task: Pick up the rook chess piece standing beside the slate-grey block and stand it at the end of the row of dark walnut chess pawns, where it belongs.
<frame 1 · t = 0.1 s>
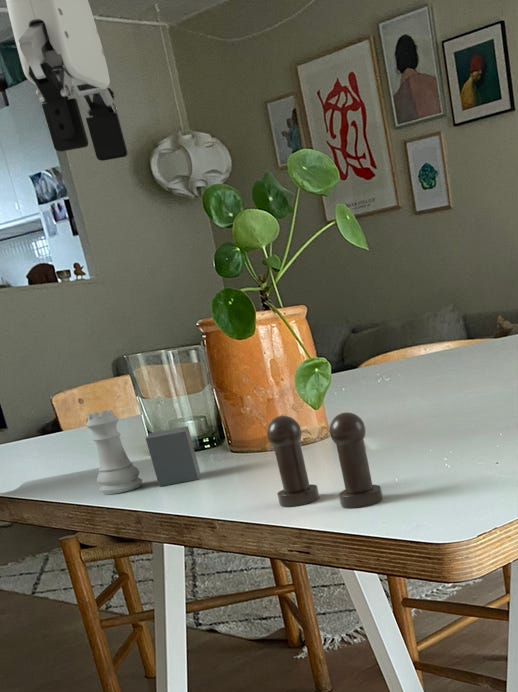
hand: (93, 153, 93), 32 cm above the table, tool pointing down, fingers open, 9 cm apart
grey block: (180, 479, 98), on the table
pawn a: (362, 502, 75), on the table
rook chess piece: (123, 491, 98), on the table
pawn b: (299, 501, 79), on the table
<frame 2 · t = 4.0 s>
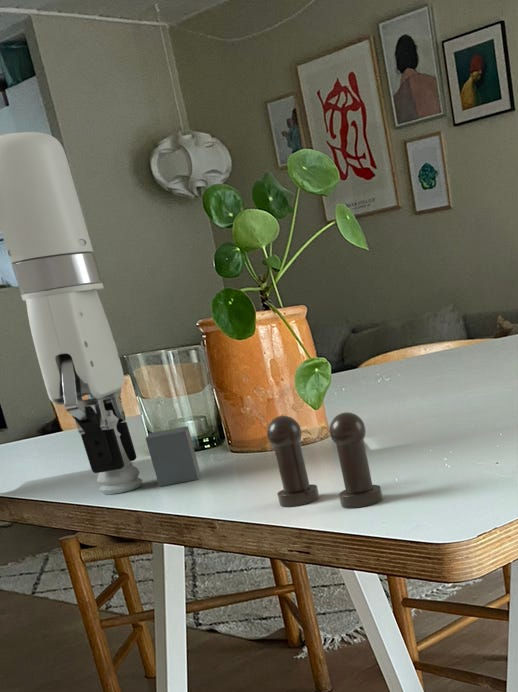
hand: (115, 464, 96), 3 cm above the table, tool pointing down, fingers closed on rook chess piece, 3 cm apart
rook chess piece: (123, 491, 98), on the table, touching gripper
everything else where it was.
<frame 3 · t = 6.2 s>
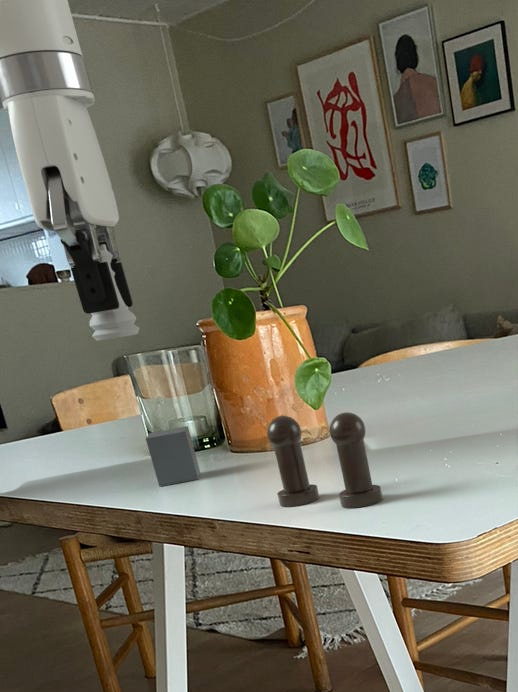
hand: (109, 308, 87), 18 cm above the table, tool pointing down, fingers closed on rook chess piece, 3 cm apart
rook chess piece: (118, 339, 88), point 15 cm above the table, touching gripper
everything else where it was.
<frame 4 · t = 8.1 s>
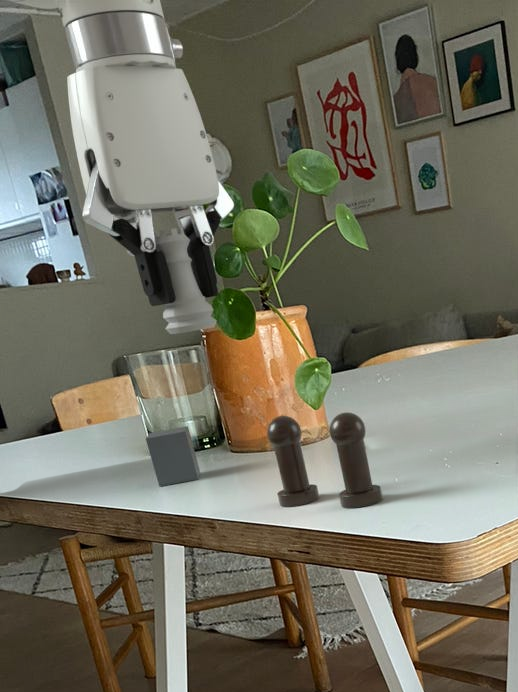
hand: (184, 298, 79), 17 cm above the table, tool pointing down, fingers closed on rook chess piece, 3 cm apart
rook chess piece: (193, 332, 80), point 14 cm above the table, touching gripper
everything else where it was.
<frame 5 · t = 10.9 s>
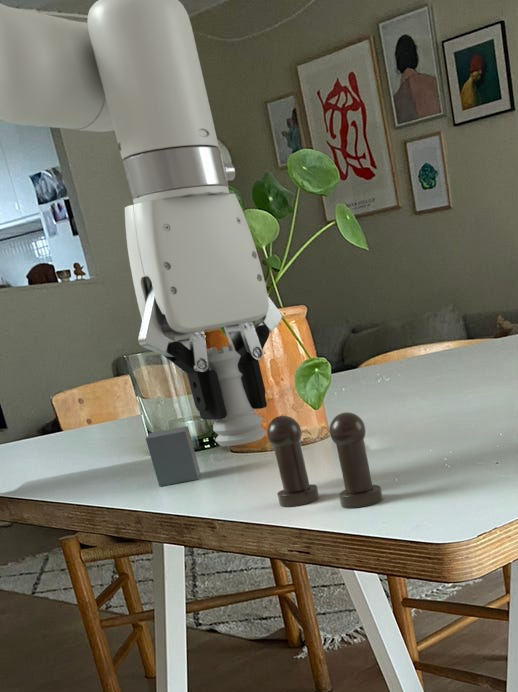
hand: (234, 411, 81), 8 cm above the table, tool pointing down, fingers closed on rook chess piece, 3 cm apart
rook chess piece: (242, 443, 82), point 5 cm above the table, touching gripper
everything else where it was.
when the fingers open (3 cm above the table, at t = 12.6 s): rook chess piece stays where it is, on the table.
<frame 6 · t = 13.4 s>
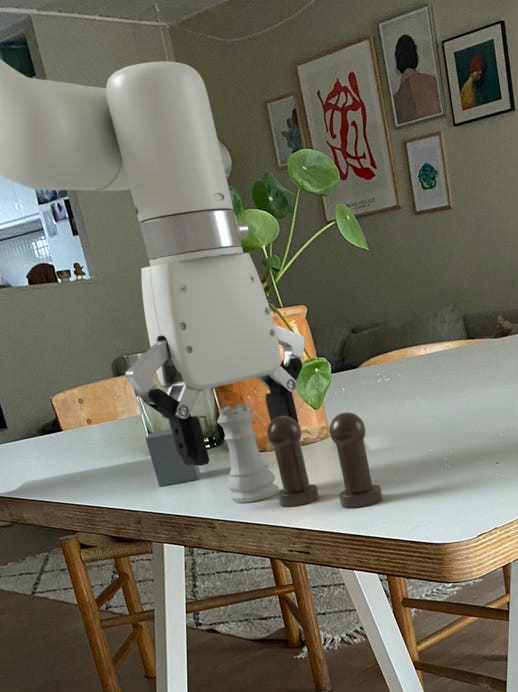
hand: (243, 450, 82), 4 cm above the table, tool pointing down, fingers open, 9 cm apart
rook chess piece: (255, 499, 84), on the table
everything else where it was.
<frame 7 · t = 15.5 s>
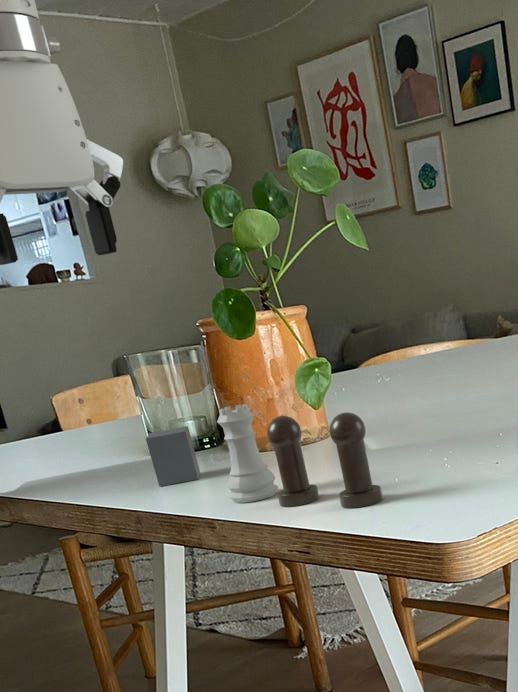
hand: (59, 258, 88), 23 cm above the table, tool pointing down, fingers open, 9 cm apart
nothing on the table moved.
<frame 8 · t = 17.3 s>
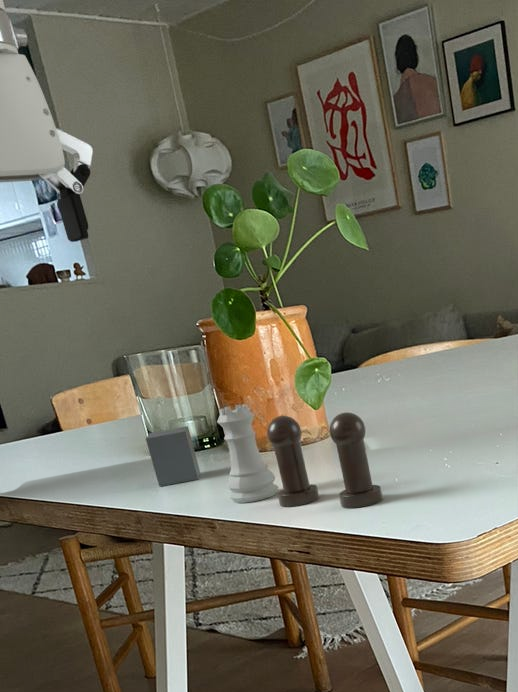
hand: (32, 244, 90), 24 cm above the table, tool pointing down, fingers open, 9 cm apart
nothing on the table moved.
at the end: rook chess piece 6.7 cm from the pawn b (horizontally); rook chess piece 13.7 cm from the pawn a (horizontally); rook chess piece tilted 0° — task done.
